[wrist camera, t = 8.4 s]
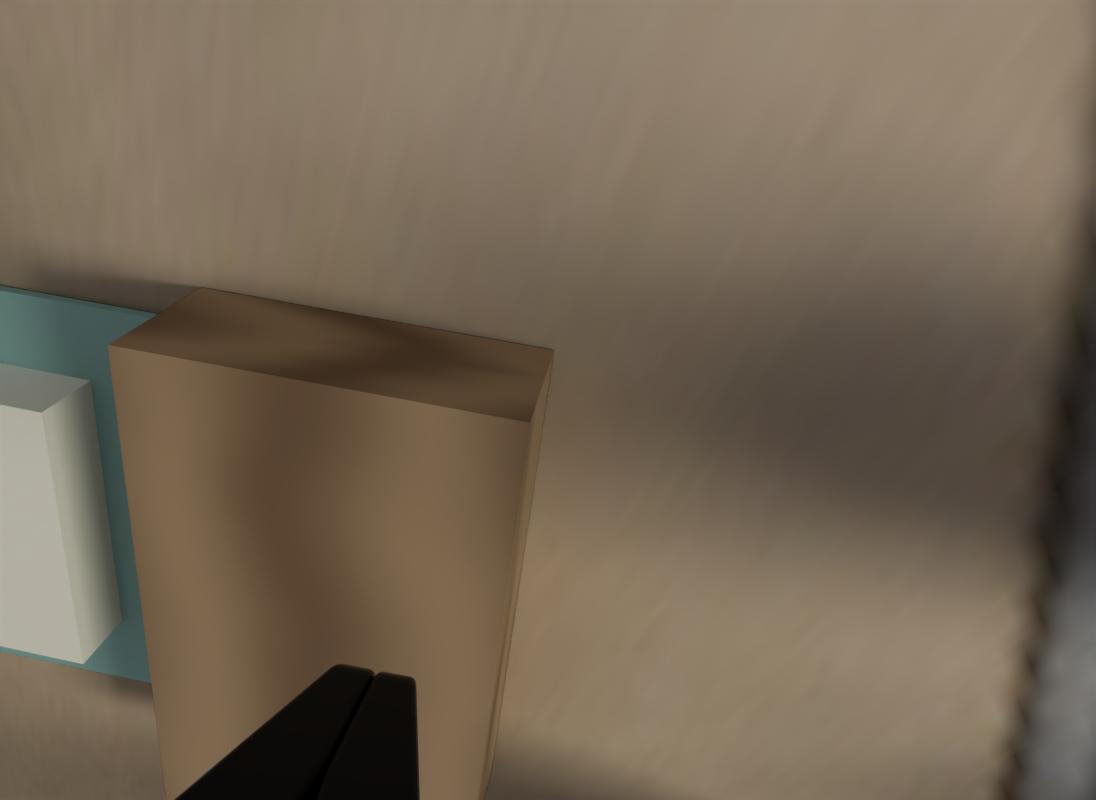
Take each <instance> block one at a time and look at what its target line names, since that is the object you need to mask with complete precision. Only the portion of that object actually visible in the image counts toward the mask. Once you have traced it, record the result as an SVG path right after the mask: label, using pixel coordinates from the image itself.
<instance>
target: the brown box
mask: <svg viewBox="0 0 1096 800" xmlns="http://www.w3.org/2000/svg"><path fill="white" fill-rule="evenodd" d="M108 352H109V360H110V368H111V375H112V383H113V391H114V399H115V406H116V414H117V422H118V429H119V437H120V445H121V453H122V460H123V468H124V476H125V484H126V491H127V499H128V507H129V514H130V522H131V530H132V538H133V545H134V553H135V561H136V569H137V576H138V584H139V592H140V599H141V607H142V615H143V623H144V630H145V638H146V646H147V654H148V661H149V669H150V677H151V684H152V692H153V700H154V708H155V715H156V723H157V731H158V739H159V746H160V754H161V762H162V769H163V777H164V785H165V793H166V800H174V799H175V798H176V797H178V796H179V795H180V794H181V793H182V792H183V791H185V790H186V789H187V788H188V787H189V786H191V785H192V784H193V783H194V782H195V781H197V780H198V779H199V778H200V777H201V776H202V775H204V774H205V773H206V772H207V771H208V770H210V769H211V768H212V767H213V766H214V765H216V764H217V763H218V762H219V761H220V760H221V759H223V758H224V757H225V756H226V755H227V754H229V753H230V752H231V751H232V750H233V749H235V748H236V747H237V746H238V745H239V744H240V743H242V742H243V741H244V740H245V739H246V738H248V737H249V736H250V735H251V734H252V733H254V732H255V731H256V730H257V729H258V728H259V727H261V726H262V725H263V724H264V723H265V722H267V721H268V720H269V719H270V718H271V717H273V716H274V715H275V714H276V713H277V712H278V711H280V710H281V709H282V708H283V707H284V706H286V705H287V704H288V703H289V702H290V701H292V700H293V699H294V698H295V697H296V696H297V695H299V694H300V693H301V692H302V691H303V690H305V689H306V688H307V687H308V686H309V685H311V684H312V683H313V682H314V681H315V680H316V679H318V678H319V677H320V676H321V675H322V674H324V673H325V672H326V671H327V670H328V669H330V668H331V667H332V666H334V665H337V664H347V665H353V666H358V667H363V668H368V669H371V670H373V671H374V672H375V675H376V674H377V673H379V672H389V673H395V674H400V675H405V676H410V677H413V678H414V679H415V681H416V689H417V721H418V754H419V787H420V800H485V796H486V792H487V787H488V783H489V779H490V775H491V770H492V765H493V758H494V752H495V745H496V738H497V731H498V725H499V718H500V711H501V705H502V698H503V691H504V684H505V678H506V671H507V664H508V658H509V651H510V644H511V637H512V631H513V624H514V617H515V611H516V604H517V597H518V590H519V584H520V577H521V570H522V564H523V557H524V550H525V543H526V537H527V530H528V523H529V516H530V510H531V503H532V496H533V490H534V483H535V476H536V469H537V463H538V456H539V449H540V443H541V436H542V429H543V422H544V416H545V409H546V402H547V396H548V389H549V382H550V375H551V369H552V362H553V355H554V350H549V349H544V348H538V347H532V346H527V345H521V344H516V343H510V342H504V341H499V340H493V339H487V338H482V337H476V336H471V335H465V334H459V333H454V332H448V331H443V330H437V329H431V328H426V327H420V326H415V325H409V324H403V323H398V322H392V321H387V320H381V319H375V318H370V317H364V316H359V315H353V314H347V313H342V312H336V311H331V310H325V309H319V308H314V307H308V306H302V305H297V304H291V303H286V302H280V301H274V300H269V299H263V298H258V297H252V296H246V295H241V294H235V293H230V292H224V291H218V290H213V289H207V288H202V287H201V288H200V289H198V290H196V291H195V292H193V293H192V294H190V295H188V296H187V297H185V298H183V299H182V300H180V301H179V302H177V303H175V304H174V305H172V306H170V307H169V308H167V309H165V310H164V311H162V312H161V313H159V314H157V315H156V316H154V317H152V318H151V319H149V320H147V321H146V322H144V323H143V324H141V325H139V326H138V327H136V328H134V329H133V330H131V331H130V332H128V333H126V334H125V335H123V336H121V337H120V338H118V339H116V340H115V341H113V342H112V343H110V344H108Z"/></svg>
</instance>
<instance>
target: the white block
mask: <svg viewBox="0 0 1096 800" xmlns="http://www.w3.org/2000/svg"><path fill="white" fill-rule="evenodd" d="M121 621H122V616H121V609H120V601H119V593H118V586H117V578H116V571H115V563H114V556H113V548H112V540H111V533H110V525H109V518H108V510H107V502H106V495H105V487H104V480H103V472H102V464H101V457H100V449H99V442H98V434H97V426H96V419H95V411H94V404H93V396H92V388H91V381H90V380H85V379H80V378H75V377H70V376H65V375H60V374H55V373H49V372H44V371H39V370H34V369H29V368H24V367H19V366H14V365H9V364H4V363H0V646H2V647H7V648H11V649H16V650H20V651H25V652H29V653H34V654H38V655H43V656H48V657H52V658H57V659H61V660H66V661H70V662H75V663H80V664H84V663H85V662H86V661H87V659H88V658H89V657H90V656H91V655H92V654H93V653H94V652H95V650H96V649H97V648H98V647H99V646H100V645H101V644H102V643H103V641H104V640H105V639H106V638H107V637H108V636H109V635H110V633H111V632H112V631H113V630H114V629H115V628H116V627H117V626H118V624H119V623H120V622H121Z"/></svg>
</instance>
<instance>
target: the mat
mask: <svg viewBox="0 0 1096 800" xmlns="http://www.w3.org/2000/svg"><path fill="white" fill-rule="evenodd" d="M156 315H157V314H155V313H149V312H144V311H138V310H133V309H127V308H122V307H116V306H111V305H105V304H100V303H94V302H88V301H83V300H77V299H72V298H66V297H61V296H55V295H50V294H44V293H39V292H33V291H28V290H22V289H17V288H11V287H6V286H0V363H4V364H9V365H14V366H19V367H24V368H29V369H34V370H39V371H44V372H49V373H55V374H60V375H65V376H70V377H75V378H80V379H85V380H90V381H91V388H92V396H93V404H94V411H95V419H96V426H97V434H98V442H99V449H100V457H101V464H102V472H103V480H104V487H105V495H106V502H107V510H108V518H109V525H110V533H111V540H112V548H113V556H114V563H115V571H116V578H117V586H118V593H119V601H120V609H121V616H122V621H121V622H120V623H119V624H118V626H117V627H116V628H115V629H114V630H113V631H112V632H111V633H110V635H109V636H108V637H107V638H106V639H105V640H104V641H103V643H102V644H101V645H100V646H99V647H98V648H97V649H96V650H95V652H94V653H93V654H92V655H91V656H90V657H89V658H88V659H87V661H86V662H85V663H84V664H80V663H75V662H70V661H66V660H61V659H57V658H52V657H48V656H43V655H38V654H34V653H29V652H25V651H20V650H16V649H11V648H7V647H2V646H0V652H5V653H9V654H14V655H19V656H24V657H28V658H33V659H38V660H43V661H47V662H52V663H57V664H62V665H66V666H71V667H76V668H80V669H85V670H90V671H95V672H99V673H104V674H109V675H114V676H118V677H123V678H128V679H133V680H137V681H142V682H147V683H151V677H150V669H149V661H148V654H147V646H146V638H145V630H144V623H143V615H142V607H141V599H140V592H139V584H138V576H137V569H136V561H135V553H134V545H133V538H132V530H131V522H130V514H129V507H128V499H127V491H126V484H125V476H124V468H123V460H122V453H121V445H120V437H119V429H118V422H117V414H116V406H115V399H114V391H113V383H112V375H111V368H110V360H109V352H108V344H110V343H112V342H113V341H115V340H116V339H118V338H120V337H121V336H123V335H125V334H126V333H128V332H130V331H131V330H133V329H134V328H136V327H138V326H139V325H141V324H143V323H144V322H146V321H147V320H149V319H151V318H152V317H154V316H156Z"/></svg>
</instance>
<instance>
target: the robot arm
mask: <svg viewBox="0 0 1096 800" xmlns="http://www.w3.org/2000/svg"><path fill="white" fill-rule="evenodd" d="M174 800H420V787H419V754H418V721H417V689H416V681H415V679H414V678H413V677H410V676H405V675H400V674H395V673H389V672H379V673H377V674H376V675H375V672H374V671H373V670H371V669H368V668H363V667H358V666H353V665H347V664H337V665H334V666H332V667H331V668H330V669H328V670H327V671H326V672H325V673H324V674H322V675H321V676H320V677H319V678H318V679H316V680H315V681H314V682H313V683H312V684H311V685H309V686H308V687H307V688H306V689H305V690H303V691H302V692H301V693H300V694H299V695H297V696H296V697H295V698H294V699H293V700H292V701H290V702H289V703H288V704H287V705H286V706H284V707H283V708H282V709H281V710H280V711H278V712H277V713H276V714H275V715H274V716H273V717H271V718H270V719H269V720H268V721H267V722H265V723H264V724H263V725H262V726H261V727H259V728H258V729H257V730H256V731H255V732H254V733H252V734H251V735H250V736H249V737H248V738H246V739H245V740H244V741H243V742H242V743H240V744H239V745H238V746H237V747H236V748H235V749H233V750H232V751H231V752H230V753H229V754H227V755H226V756H225V757H224V758H223V759H221V760H220V761H219V762H218V763H217V764H216V765H214V766H213V767H212V768H211V769H210V770H208V771H207V772H206V773H205V774H204V775H202V776H201V777H200V778H199V779H198V780H197V781H195V782H194V783H193V784H192V785H191V786H189V787H188V788H187V789H186V790H185V791H183V792H182V793H181V794H180V795H179V796H178V797H176V798H175V799H174Z"/></svg>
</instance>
